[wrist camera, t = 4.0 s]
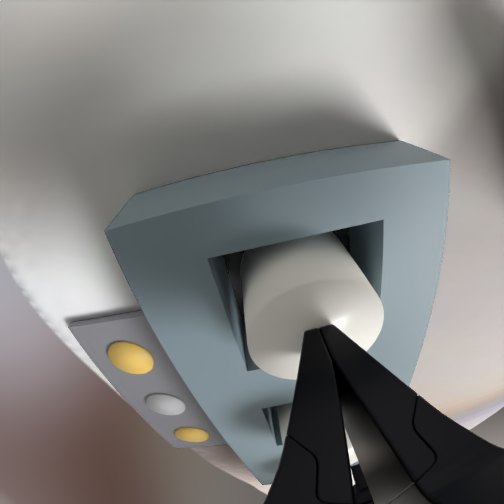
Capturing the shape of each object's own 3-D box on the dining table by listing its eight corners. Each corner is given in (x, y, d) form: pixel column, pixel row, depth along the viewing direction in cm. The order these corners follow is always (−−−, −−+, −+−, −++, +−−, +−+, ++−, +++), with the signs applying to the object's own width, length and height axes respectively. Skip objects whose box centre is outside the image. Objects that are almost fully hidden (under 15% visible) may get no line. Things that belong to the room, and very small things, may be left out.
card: (234, 439, 19) (234, 445, 19) (174, 443, 19) (174, 449, 19) (156, 307, 12) (154, 316, 12) (71, 322, 12) (67, 329, 12)
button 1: (345, 296, 12) (377, 360, 9) (252, 318, 12) (261, 389, 9) (341, 208, 10) (388, 262, 7) (228, 233, 10) (231, 299, 7)
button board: (367, 431, 21) (376, 457, 19) (259, 456, 22) (262, 485, 19) (400, 140, 10) (450, 159, 7) (133, 194, 10) (104, 231, 7)
